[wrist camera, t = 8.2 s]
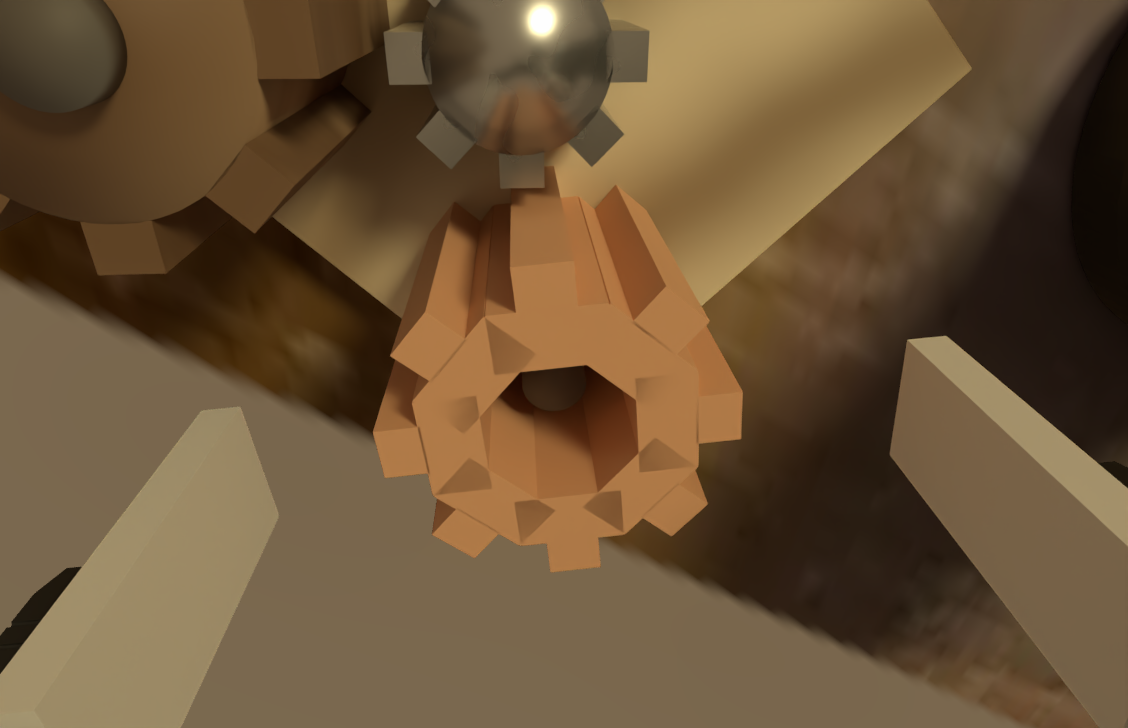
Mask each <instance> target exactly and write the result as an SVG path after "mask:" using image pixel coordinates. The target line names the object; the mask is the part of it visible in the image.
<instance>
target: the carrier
mask: <svg viewBox="0 0 1128 728" xmlns="http://www.w3.org/2000/svg"><path fill="white" fill-rule="evenodd" d="M430 4H431V3H430V2H429V1H428V0H387V7H388V16H389V25H390V29H392V28H395V27H397V26H399V25H402V24H404V23H406V22H409V21H417V20H425V18H426V15H427V13H428V10H429V7H430ZM602 4H603V6H604V8H605V11H606V13H607V16H608V19H621V20H624V21H626V22H629V23H632V24H634V25H637V26H639V27H642V28H644V29H647V30H649V31H650V33H649V53H648V73H647V82H621V83H610V85H609V88H608V91H607V94H606V97H605V99H604V101H603V105H604V106H605V107H606V109H607V110H608V112H609V113H610V115H611V116H612V117H613V119H614V120H615V122H616V123H617V124H618V126H619V127H620V129H621V130H622V132H623V133H624V135H623V136H622V137H621V138H620V139H619V140H618V141H617V142H616V143H615V144H614V145H613V146H612V147H611V148H610V149H609V150H608V151H607V152H606V153H605V155H604V156H603V157H602V158H601V159H600V160H599V161H598V162H597V163H596V164H595V165H594V166H593V167H591V166H590V165H589V164H588V163H587V162H586V161H585V160H584V159H583V158H582V157H581V156H580V155H579V154H578V153H577V152H576V151H575V150H574V149H573V147H572V146H571V145H570V144H569V143H568V142H567V143H565V144H563V145H561V146H559V147H557V148H555V149H552V150H550V151H547V152H544V167H545V166H554V169H555V174H556V178H557V183H558V188H559V192H560V197H561V198H563V197H572V196H578V197H580V198H582V199H583V200H584V201H585V202H586V203H588V204H589V205H590V206H591V207H593V208H594V209H595V208H596V207H597V206H598V205H599V204H600V202H601V201H602V200H603V199H604V198H605V197H606V195H607V194H608V193H609V192H610V191H611V190H612V188H613V187H614V186H615V185H617V186H618V187H620V188H621V189H622V190H623V191H624V192H626V193H627V194H628V195H629V196H630V197H631V198H633V199H634V200H635V201H636V202H637V203H639V204H640V205H641V206H642V207H643V208H644V209H646V210H647V212H648V214H649V216H650V217H651V219H652V221H653V223H654V224H655V226H656V228H657V230H658V231H659V233H660V235H661V237H662V238H663V240H664V242H665V244H666V245H667V247H668V249H669V251H670V252H671V254H672V256H673V258H674V259H675V261H676V263H677V265H678V267H679V268H680V270H681V272H682V274H683V275H684V277H685V279H686V281H687V282H688V284H689V286H690V288H691V289H692V291H693V293H694V295H695V296H696V298H697V300H698V302H699V303H700V305H701V306H702V305H703V304H704V303H706V302H707V301H708V300H709V299H710V298H711V297H712V296H714V295H715V294H716V293H717V292H718V291H719V290H720V289H722V288H723V287H724V286H725V285H726V284H727V283H728V282H729V281H731V280H732V279H733V278H734V277H735V276H736V275H737V274H739V273H740V272H741V271H742V270H743V269H744V268H745V267H747V266H748V265H749V264H750V263H751V262H752V261H753V260H755V259H756V258H757V257H758V256H759V255H760V254H761V253H763V252H764V251H765V250H766V249H767V248H768V247H769V246H771V245H772V244H773V243H774V242H775V241H776V240H777V239H779V238H780V237H781V236H782V235H783V234H784V233H785V232H787V231H788V230H789V229H790V228H791V227H792V226H793V225H795V224H796V223H797V222H798V221H799V220H800V219H801V218H803V217H804V216H805V215H806V214H807V213H808V212H809V211H811V210H812V209H813V208H814V207H815V206H816V205H817V204H819V203H820V202H821V201H822V200H823V199H824V198H825V197H826V196H828V195H829V194H830V193H831V192H832V191H833V190H834V189H836V188H837V187H838V186H839V185H840V184H841V183H842V182H844V181H845V180H846V179H847V178H848V177H849V176H850V175H852V174H853V173H854V172H855V171H856V170H857V169H858V168H860V167H861V166H862V165H863V164H864V163H865V162H866V161H868V160H869V159H870V158H871V157H872V156H873V155H874V154H876V153H877V152H878V151H879V150H880V149H881V148H882V147H884V146H885V145H886V144H887V143H888V142H889V141H890V140H892V139H893V138H894V137H895V136H896V135H897V134H898V133H900V132H901V131H902V130H903V129H904V128H905V127H906V126H908V125H909V124H910V123H911V122H912V121H913V120H914V119H916V118H917V117H918V116H919V115H920V114H921V113H922V112H923V111H925V110H926V109H927V108H928V107H929V106H930V105H931V104H933V103H934V102H935V101H936V100H937V99H938V98H939V97H941V96H942V95H943V94H944V93H945V92H946V91H947V90H949V89H950V88H951V87H952V86H953V85H954V84H955V83H957V82H958V81H959V80H960V79H961V78H962V77H963V76H965V75H966V74H967V73H968V72H969V71H970V70H971V69H972V68H971V66H970V65H969V63H968V62H967V60H966V59H965V57H964V56H963V54H962V53H961V51H960V50H959V48H958V47H957V45H956V44H955V42H954V40H953V39H952V37H951V36H950V34H949V33H948V31H947V30H946V28H945V27H944V25H943V24H942V22H941V21H940V19H939V17H938V16H937V14H936V13H935V11H934V10H933V8H932V7H931V5H930V4H929V2H928V1H927V0H604V1H603V3H602ZM341 84H342V85H343V86H344V87H345V88H346V89H347V90H348V91H349V92H351V93H352V94H353V95H354V96H355V97H356V98H357V99H358V100H359V101H360V102H362V103H363V104H364V105H365V106H366V107H367V108H368V109H369V110H370V111H371V113H370V115H369V116H368V117H367V118H366V119H365V121H364V122H363V123H362V124H361V125H360V127H359V128H358V129H357V130H356V131H355V133H354V134H353V135H352V136H351V137H350V139H349V140H348V141H347V142H346V143H345V145H344V146H343V147H342V148H341V149H340V150H339V151H338V152H337V153H336V154H335V155H334V156H333V157H332V158H331V159H330V160H329V161H328V162H327V163H326V164H325V165H324V166H322V167H321V168H320V169H319V170H318V171H317V172H316V173H315V174H314V175H313V176H312V177H311V178H310V179H309V180H308V181H307V182H306V183H305V184H304V185H303V186H302V187H301V188H300V189H299V190H298V191H297V192H296V193H295V194H294V195H293V196H292V197H291V198H290V199H289V200H288V201H287V202H286V203H285V204H284V205H283V206H282V207H281V208H280V209H279V210H278V211H277V212H276V213H275V214H274V215H273V216H272V217H273V218H274V219H276V220H277V221H278V222H279V223H281V224H282V225H283V226H285V227H286V228H287V229H288V230H290V231H291V232H292V233H293V234H295V235H296V236H297V237H299V238H300V239H301V240H302V241H304V242H305V243H306V244H307V245H309V246H310V247H311V248H313V249H314V250H315V251H316V252H318V253H319V254H320V255H321V256H323V257H324V258H325V259H327V260H328V261H329V262H330V263H332V264H333V265H334V266H335V267H337V268H338V269H339V270H341V271H342V272H343V273H344V274H346V275H347V276H348V277H349V278H351V279H352V280H353V281H354V282H356V283H357V284H358V285H360V286H361V287H362V288H363V289H365V290H366V291H367V292H368V293H370V294H371V295H372V296H374V297H375V298H376V299H377V300H379V301H380V302H381V303H382V304H384V305H385V306H386V307H388V308H389V309H390V310H391V311H393V312H394V313H395V314H396V315H398V316H399V317H400V318H402V317H403V314H404V311H405V308H406V305H407V302H408V299H409V296H410V293H411V290H412V287H413V284H414V280H415V277H416V274H417V271H418V268H419V265H420V262H421V259H422V256H423V253H424V250H425V247H426V244H427V241H428V238H429V234H430V232H431V231H432V230H433V229H434V227H435V226H436V225H437V223H438V222H439V221H440V219H441V218H442V217H443V215H444V214H445V213H446V212H447V210H448V209H449V208H450V206H451V205H452V204H453V202H456V203H457V204H458V205H460V206H461V207H462V208H464V209H465V210H466V211H468V212H469V213H470V214H472V215H473V216H474V217H476V218H477V219H478V220H480V221H481V220H482V219H483V218H484V216H485V215H486V214H487V213H488V211H489V210H490V209H491V207H492V206H494V205H497V204H506V203H511V188H506V189H500V169H499V153H497V152H494V151H491V150H487V149H485V148H483V147H481V146H479V145H477V144H474V145H473V146H472V147H471V148H470V149H469V150H468V152H467V153H466V154H465V155H464V156H463V157H462V158H461V159H460V160H459V161H458V163H457V164H456V165H455V166H454V167H453V168H452V169H450V168H449V167H448V166H447V165H446V164H445V163H443V162H442V161H441V160H440V159H439V158H438V157H437V156H436V155H435V154H434V153H433V152H431V151H430V150H429V149H428V148H427V147H426V146H425V145H424V144H423V143H422V142H421V141H419V140H418V139H417V138H416V136H417V134H418V133H419V131H420V130H421V128H422V126H423V125H424V123H425V121H426V120H427V118H428V116H429V115H430V113H431V111H432V110H433V108H434V107H435V105H436V103H435V101H434V100H433V98H432V95H431V93H430V90H429V88H428V86H427V84H423V85H389V78H388V69H387V60H386V51H385V45H383V46H381V47H379V48H377V49H375V50H374V51H372V52H370V53H368V54H366V55H364V56H362V57H360V58H358V59H356V60H355V61H353V62H351V63H349V64H348V67H347V70H346V73H345V76H344V79H343V81H342V83H341ZM522 387H523V392H524V394H525V396H526V398H527V399H528V400H529V402H531V403H532V404H533V405H534V406H536V407H538V408H540V409H542V410H546V411H560V410H564V409H567V408H569V407H571V406H573V405H574V404H576V403H577V402H578V401H579V400H580V398H581V397H582V396H583V394H584V391H585V388H586V377H585V371H584V366H583V365H582V366H573V367H564V368H555V369H545V370H536V371H527V372H522Z"/></svg>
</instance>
